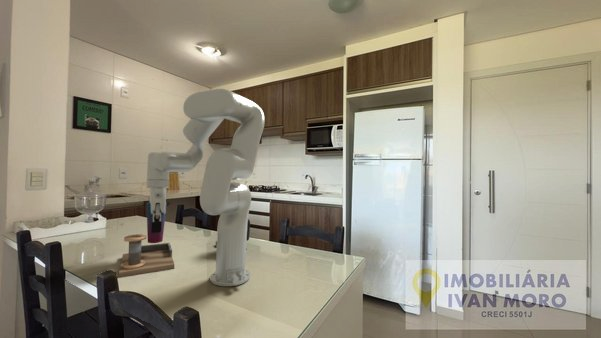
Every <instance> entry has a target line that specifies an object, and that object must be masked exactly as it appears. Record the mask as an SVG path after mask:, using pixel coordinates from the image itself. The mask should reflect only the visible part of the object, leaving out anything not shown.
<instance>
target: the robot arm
mask: <svg viewBox="0 0 601 338" xmlns="http://www.w3.org/2000/svg"><path fill="white" fill-rule="evenodd" d="M182 107H183V112H184V115H185V116H186V117H187V118H189V120H188V122H187V123H186V124H185V126H184V127H183V129H182V134H183V135H184V137H185V138H186V139H187V140H188V141H189V142H190V143H192V144H191V146H190V147H189V149H188V150H187V151H186V152H178V151H162V152H161V151H159V152H158V151H157V152H156V151H155V152H154V151H153V152H150V153H148V155H147V169H146V189H149V202H150V210H151V214H153V222H152V227H151V232H152V233H156V232H161V223H162V221H161V211H162V213H163V214H165V209H166V210H167V206H166V203H167V202H166V201H167V197H166V196H167V189H169V187H170V173H188V172H191V171H192V170H194V169H195V168H196V167H197V166H198V164H199V163H201V162H202V160H203V158H204V155H205V151H206V150H205V149H206V148H205V143H206V141H207V140H208V139H209V138H210V136H211V135H212V134H213V133H214V132H215V131H216V129H218V127H219V126H220V125H221V123H222V122H223V121H224V120H228V121H232V122H235V123H238V124H240V126H239V127H237V129H236V130H235V133H234V135H232V136H233V137H232V143H231V146H230V148H225V147H224V148H223V147H222V148H218V149H215V150H214V151H213V152H212V153H211V154H210V155H209V157H208V159H207V162H206V165H205V168H204V169H205V170H204V175H203V178H202V184H201V187H200V188H201V189H200V192H199V193H200V195H199V204H200V208H201V209H202V211H203V212H204V213H205V214H207V215H210V216H218V215H219V218H218V221H217V232H216V241H217V246H216V251H215V252H216V255H215V257H216V259H215V271H214V272H212V273H211V275H210V279H209V280H210V283H211V284H213V285H215V286H219V287H233V286H239V285H242V284H245V283H246V282H248V281H249V280H250V278H251V273H250V270H248V269H247V268H246V264H247V263H246V262H247V250H246V248H247V243H248V242H247V223H248V219H249V213H250V208H251V204H252V203H251V202H252V193H251V190H250V189H249V187H248V186H247V185H246V184H244V183H241V182H234V180H235V181H236V180H237V181H239V180H246V179H248V178H250V177H251V176H252V174H253V172H254V169H255V165H256V161H257V156H258V150H259V146H260V141H261V138H262V134H263V132H264V128H265V123H266V122H265V121H266V119H265V114H264V111H263V109H262V108H261V107H260V106H259V105H258V104H257V103H255V102H254V101H253V100H251V99H248V98H247V97H245V96H242V95H240V94H238V93H236V92H233V91H232V90H230V89H225V88H216V89H210V90H204V91H197V92H194V93H192V94H190V95H188V97H187V98H186V99H185V101H184V102H183V106H182ZM232 181H233V182H232ZM155 205H156V208H155ZM155 211H156V213H154V212H155ZM154 215H156V216H155V217H154ZM165 215H166V214H165Z"/></svg>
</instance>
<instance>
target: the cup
mask: <svg viewBox="0 0 601 338" xmlns="http://www.w3.org/2000/svg"><path fill="white" fill-rule="evenodd" d="M167 204H168V203H167V202H166V207H167V206H168V205H167ZM155 208H156V205H155ZM154 213H156V211H155V212H154ZM166 214H167V208H166V209H165V214H163V213H162V211H161V221H162V223H161V232H156V233H152V232H151V227H152V222H153V214H151V210H150V201H149V202H147V203H146V229H147V233H146V237H147V243H148V244H160V243H162V242H163V240H164V239H163V237H164V231H165V221H166ZM155 216H156V215H154V217H155Z"/></svg>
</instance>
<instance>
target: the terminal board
mask: <svg viewBox="0 0 601 338" xmlns="http://www.w3.org/2000/svg"><path fill="white" fill-rule="evenodd" d="M146 239H147V234H142V233H141V234H137V233H136V234H131V235H129V234H128V235H126V236H124V237H123V241H124V242H128V253H123V254H122V256H121V262H120V267H119V270H118V271H119V272H118V278H123V277H129V276H136V275H141V274H149V273H154V272H160V271H167V270H173V269H175V261H174V259H173V248H172V246H171V243H170V242H164V243H162V242H161V243H152V244H144V245H142V241H144V240H146Z"/></svg>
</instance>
